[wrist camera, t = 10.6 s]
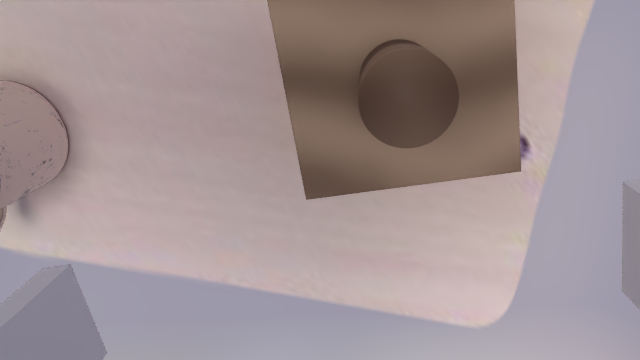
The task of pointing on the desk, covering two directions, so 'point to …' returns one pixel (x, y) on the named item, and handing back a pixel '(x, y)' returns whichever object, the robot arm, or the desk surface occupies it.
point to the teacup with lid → (27, 143)
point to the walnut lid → (398, 91)
